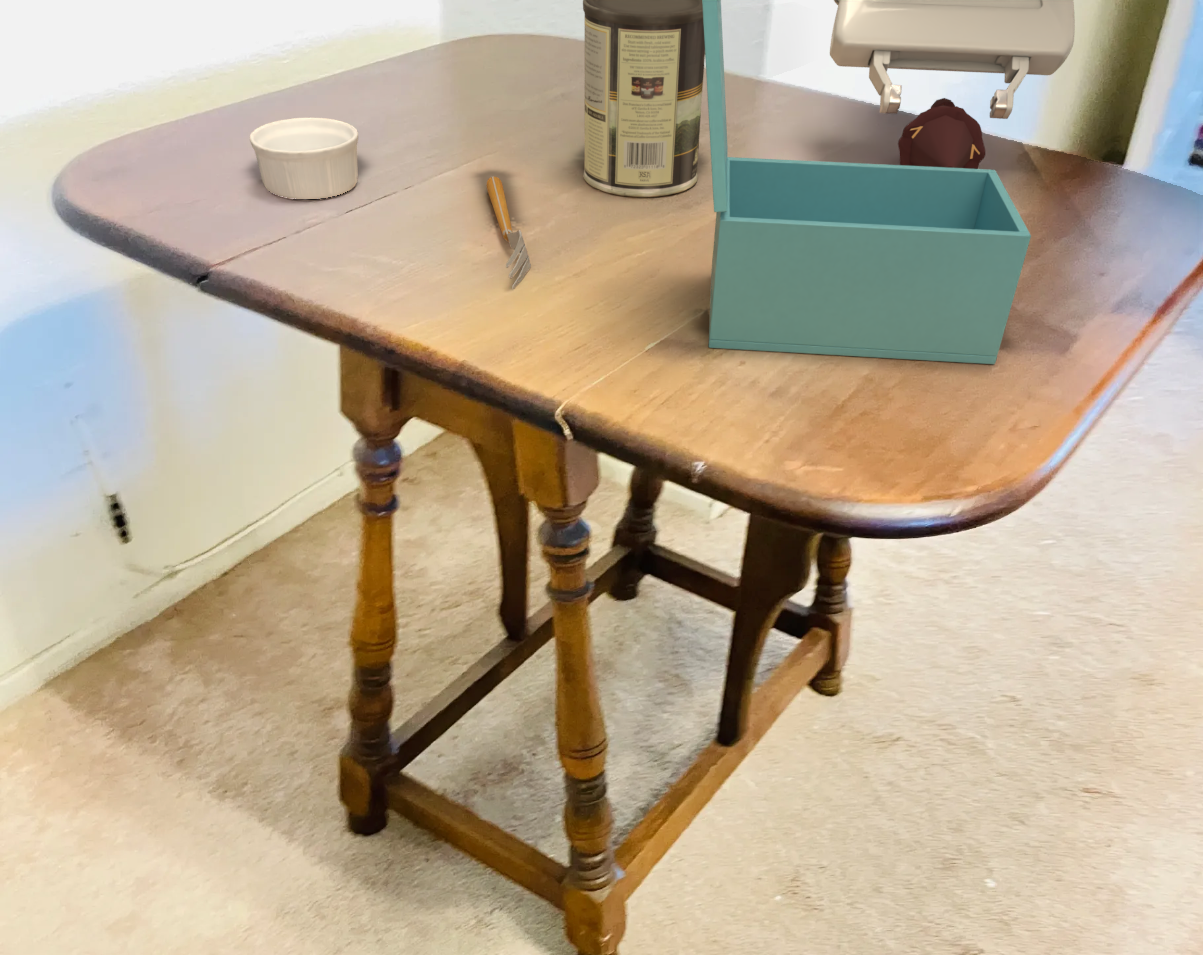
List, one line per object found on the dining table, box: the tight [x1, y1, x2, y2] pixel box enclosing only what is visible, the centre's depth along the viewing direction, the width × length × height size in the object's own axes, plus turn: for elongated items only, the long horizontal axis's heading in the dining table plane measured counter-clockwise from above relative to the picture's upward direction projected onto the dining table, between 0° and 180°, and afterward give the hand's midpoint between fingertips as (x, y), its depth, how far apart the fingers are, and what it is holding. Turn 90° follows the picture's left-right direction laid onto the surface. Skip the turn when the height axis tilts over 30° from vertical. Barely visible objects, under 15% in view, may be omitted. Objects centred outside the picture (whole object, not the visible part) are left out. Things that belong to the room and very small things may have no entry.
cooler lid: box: [702, 0, 729, 213], centre depth 64 cm, size 19×12×1 cm
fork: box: [486, 175, 532, 290], centre depth 85 cm, size 2×2×20 cm
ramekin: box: [249, 117, 359, 200], centre depth 92 cm, size 9×9×4 cm
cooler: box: [708, 156, 1032, 365], centre depth 72 cm, size 19×12×9 cm, turn 85°
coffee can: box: [582, 0, 706, 198], centre depth 91 cm, size 10×10×14 cm
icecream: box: [897, 97, 986, 169], centre depth 93 cm, size 7×7×15 cm
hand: (945, 112), depth 93 cm, fingers open, 8 cm apart
